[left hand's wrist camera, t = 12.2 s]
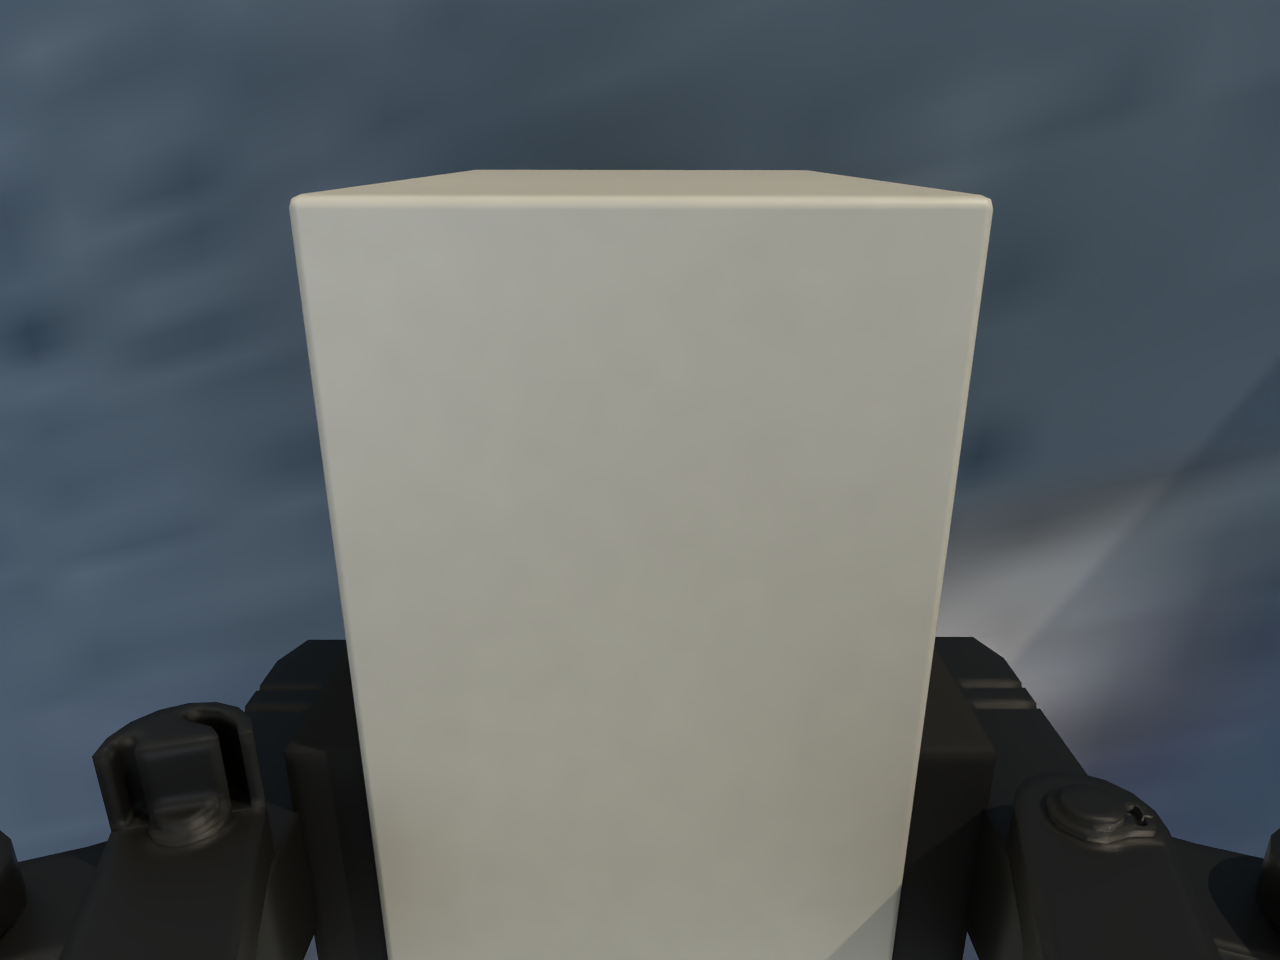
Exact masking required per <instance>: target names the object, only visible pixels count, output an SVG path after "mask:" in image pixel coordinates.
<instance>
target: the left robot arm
mask: <svg viewBox="0 0 1280 960" xmlns="http://www.w3.org/2000/svg"><path fill="white" fill-rule="evenodd" d="M92 758H93V762H94V766H95V770H96V774H97V778H98V781H99V785H100V789H101V793H102V797H103V801H104V805H105V809H106V812H107V816H108V820H109V824H110V828H111V834H110V836H109V839H108V841H106V842H102V843H99V844H95V845H92V846H89V847H85V848H80V849H76V850H71V851H67V852H62V853H58V854H53V855H49V856H44V857H40V858H35V859H30V860H26V861H21V862H18V861H17V858H16V855H15V851H14V848H13V845H12V842H11V839H10V838H9V837H8V836H6V835H5V834H4V833H3V832H1V831H0V960H303V959H304V957H305V955H306V952H307V950H308V947H309V945H310V943H311V940H312V938H313V935H314V936H315V942H316V948H317V954H318V960H388V955H387V947H386V940H385V932H384V925H383V917H382V910H381V902H380V894H379V887H378V879H377V872H376V864H375V856H374V849H373V841H372V834H371V826H370V818H369V811H368V803H367V796H366V788H365V780H364V773H363V765H362V758H361V750H360V742H359V735H358V727H357V720H356V712H355V705H354V697H353V689H352V682H351V674H350V667H349V659H348V651H347V644H346V640H307V641H306V642H305V643H303V644H302V645H300V646H299V647H297V648H296V649H294V650H293V651H291V652H290V653H289V654H287V655H286V656H284V657H283V658H281V659H280V660H278V661H277V662H276V664H275V665H274V667H273V668H272V669H271V671H270V672H269V674H268V675H267V677H266V678H265V679H264V681H263V682H262V684H261V685H260V690H259V691H256V692H255V693H254V695H253V696H252V698H251V699H250V700H249V702H248V703H247V705H246V706H245V712H243V711H242V710H241V709H240V708H238V707H235V706H231V705H226V704H222V703H218V702H207V703H188V704H183V705H179V706H175V707H170V708H166V709H161V710H158V711H156V712H153V713H151V714H149V715H146V716H144V717H142V718H139V719H137V720H135V721H132V722H130V723H129V724H127V725H126V726H124V727H123V728H121V729H120V730H118V731H117V732H115V733H114V734H112V735H111V736H110V737H108V738H107V739H106V740H105V741H104V742H103V744H102V745H101V746H100V747H99V749H98V750H97V751H96V752H95V754H94V755H93V756H92ZM967 932H968V934H969V936H970V939H971V941H972V944H973V946H974V948H975V951H976V953H977V956H978V958H979V960H1280V829H1278V830H1277V831H1276V832H1275V833H1274V834H1272V835H1271V838H1270V841H1269V844H1268V848H1267V851H1266V854H1265V857H1264V859H1263V858H1258V857H1254V856H1249V855H1245V854H1240V853H1236V852H1231V851H1227V850H1222V849H1217V848H1213V847H1208V846H1204V845H1199V844H1195V843H1191V842H1188V841H1185V840H1181V839H1178V838H1174V837H1171V835H1170V832H1169V830H1168V829H1167V827H1166V826H1165V825H1164V823H1163V822H1162V820H1161V819H1160V817H1159V816H1158V814H1157V813H1156V812H1155V811H1154V810H1153V809H1152V808H1151V807H1149V806H1148V805H1147V804H1146V803H1144V802H1143V801H1142V800H1140V799H1139V798H1138V797H1137V796H1135V795H1134V794H1133V793H1131V792H1129V791H1127V790H1124V789H1122V788H1120V787H1118V786H1116V785H1114V784H1112V783H1110V782H1108V781H1106V780H1103V779H1099V778H1095V777H1091V776H1088V775H1087V774H1086V772H1085V771H1084V770H1083V768H1082V767H1081V765H1080V764H1079V763H1078V761H1077V760H1076V758H1075V757H1074V756H1073V754H1072V753H1071V751H1070V750H1069V749H1068V747H1067V746H1066V745H1065V743H1064V742H1063V740H1062V739H1061V738H1060V736H1059V735H1058V733H1057V732H1056V731H1055V729H1054V728H1053V726H1052V725H1051V724H1050V722H1049V721H1048V719H1047V718H1046V717H1045V715H1044V714H1043V712H1042V711H1041V710H1040V709H1037V708H1036V703H1035V701H1034V700H1033V698H1032V697H1031V696H1030V694H1029V693H1028V691H1027V690H1026V689H1025V688H1022V686H1021V682H1020V680H1019V679H1018V677H1017V676H1016V675H1015V673H1014V672H1013V670H1012V669H1011V668H1010V666H1009V665H1008V663H1007V662H1006V661H1005V659H1004V658H1003V657H1001V656H1000V655H998V654H997V653H995V652H994V651H992V650H991V649H990V648H988V647H987V646H985V645H984V644H982V643H981V642H979V641H978V640H976V639H975V638H973V637H935V643H934V650H933V658H932V665H931V673H930V680H929V687H928V695H927V702H926V710H925V717H924V724H923V732H922V739H921V747H920V754H919V761H918V769H917V776H916V784H915V791H914V798H913V806H912V813H911V821H910V828H909V835H908V843H907V850H906V858H905V865H904V873H903V880H902V887H901V895H900V902H899V910H898V917H897V924H896V932H895V939H894V947H893V954H892V960H962V958H963V952H964V946H965V940H966V934H967Z"/></svg>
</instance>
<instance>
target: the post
mask: <svg viewBox="0 0 1280 960" xmlns="http://www.w3.org/2000/svg"><path fill="white" fill-rule="evenodd" d="M289 211H290V219H291V226H292V234H293V241H294V249H295V257H296V264H297V272H298V279H299V287H300V295H301V302H302V310H303V317H304V325H305V333H306V340H307V348H308V355H309V363H310V370H311V378H312V386H313V393H314V401H315V408H316V416H317V424H318V431H319V439H320V446H321V454H322V462H323V469H324V477H325V484H326V492H327V500H328V507H329V515H330V522H331V530H332V537H333V545H334V553H335V560H336V568H337V575H338V583H339V591H340V598H341V606H342V613H343V621H344V629H345V636H346V644H347V651H348V659H349V667H350V674H351V682H352V689H353V697H354V705H355V712H356V720H357V727H358V735H359V742H360V750H361V758H362V765H363V773H364V780H365V788H366V796H367V803H368V811H369V818H370V826H371V834H372V841H373V849H374V856H375V864H376V872H377V879H378V887H379V894H380V902H381V910H382V917H383V925H384V932H385V940H386V947H387V955H388V960H892V954H893V947H894V939H895V932H896V924H897V917H898V910H899V902H900V895H901V887H902V880H903V873H904V865H905V858H906V850H907V843H908V835H909V828H910V821H911V813H912V806H913V798H914V791H915V784H916V776H917V769H918V761H919V754H920V747H921V739H922V732H923V724H924V717H925V710H926V702H927V695H928V687H929V680H930V673H931V665H932V658H933V650H934V643H935V636H936V628H937V621H938V613H939V606H940V599H941V591H942V584H943V576H944V569H945V561H946V554H947V547H948V539H949V532H950V524H951V517H952V510H953V502H954V495H955V487H956V480H957V473H958V465H959V458H960V450H961V443H962V436H963V428H964V421H965V413H966V406H967V399H968V391H969V384H970V376H971V369H972V362H973V354H974V347H975V339H976V332H977V325H978V317H979V310H980V302H981V295H982V287H983V280H984V273H985V265H986V258H987V250H988V243H989V236H990V228H991V221H992V213H993V207H992V202H991V199H989V198H987V197H984V196H982V195H977V194H970V193H963V192H956V191H949V190H942V189H935V188H927V187H920V186H913V185H906V184H899V183H892V182H885V181H878V180H871V179H864V178H857V177H850V176H843V175H836V174H829V173H822V172H815V171H808V170H472V171H464V172H457V173H450V174H443V175H436V176H428V177H421V178H414V179H407V180H399V181H392V182H385V183H378V184H371V185H363V186H356V187H349V188H342V189H335V190H327V191H320V192H313V193H306V194H300V195H298V196H296V197H293V198H292V199H291V202H290V206H289Z"/></svg>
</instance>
